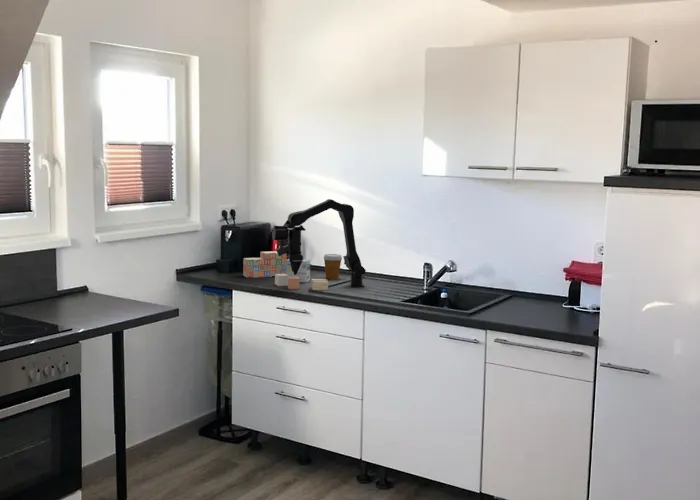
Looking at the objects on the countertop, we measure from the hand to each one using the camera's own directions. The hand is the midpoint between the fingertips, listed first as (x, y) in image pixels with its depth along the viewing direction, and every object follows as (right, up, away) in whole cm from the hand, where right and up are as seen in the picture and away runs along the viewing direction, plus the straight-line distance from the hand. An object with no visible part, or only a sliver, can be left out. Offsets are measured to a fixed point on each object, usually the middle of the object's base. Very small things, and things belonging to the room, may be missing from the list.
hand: (294, 273), depth 359 cm
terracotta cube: (0, -7, +1) cm, 7 cm away
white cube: (-7, -6, +8) cm, 12 cm away
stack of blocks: (-17, -3, +32) cm, 37 cm away
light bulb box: (0, -5, +20) cm, 21 cm away
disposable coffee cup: (+17, -4, +30) cm, 35 cm away
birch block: (+12, -7, +1) cm, 14 cm away
